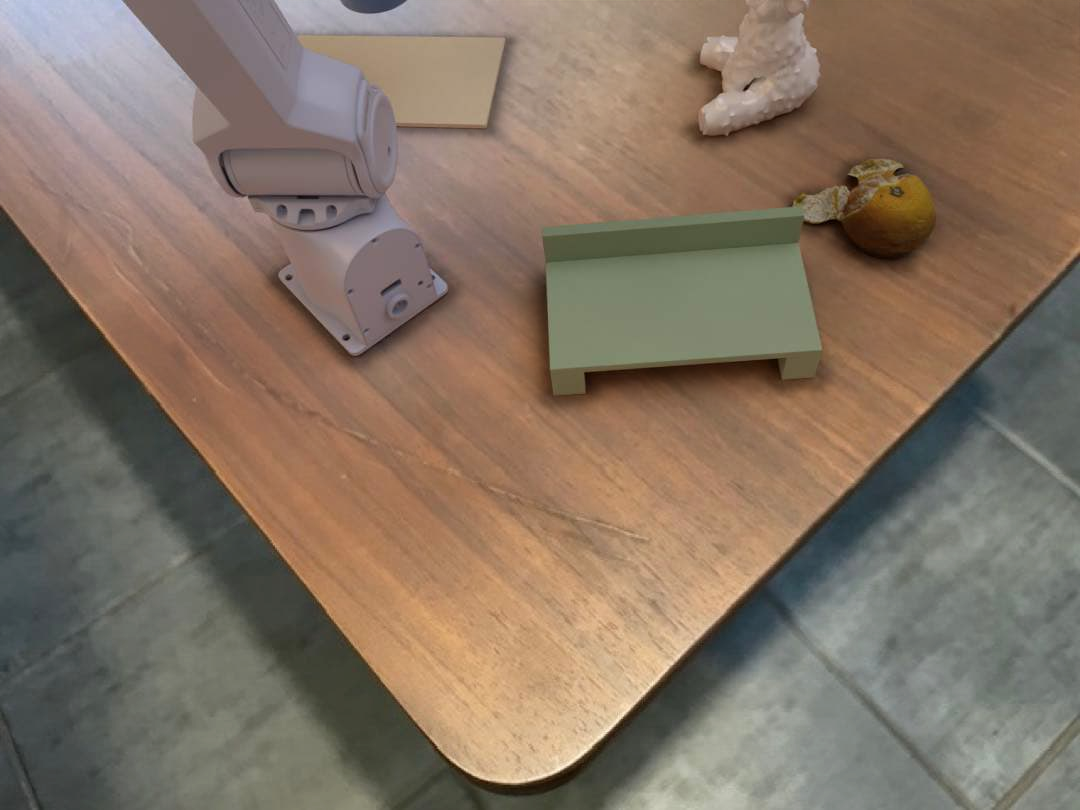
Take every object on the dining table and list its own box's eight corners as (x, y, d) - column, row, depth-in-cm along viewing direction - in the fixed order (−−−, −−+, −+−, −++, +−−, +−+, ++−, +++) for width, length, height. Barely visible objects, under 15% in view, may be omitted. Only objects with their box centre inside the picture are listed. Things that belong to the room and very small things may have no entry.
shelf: (814, 377, 59) (830, 324, 54) (553, 396, 60) (546, 345, 55) (790, 263, 63) (802, 205, 59) (548, 282, 64) (541, 226, 60)
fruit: (876, 155, 68) (887, 115, 65) (963, 227, 64) (979, 188, 61) (783, 208, 66) (790, 169, 63) (866, 285, 62) (878, 247, 59)
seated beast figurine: (698, 53, 75) (708, -95, 65) (812, 52, 74) (840, -99, 64) (697, 139, 70) (707, -6, 60) (819, 140, 69) (850, -8, 59)
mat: (505, 41, 78) (505, 37, 77) (486, 128, 73) (485, 124, 72) (293, 38, 80) (292, 34, 80) (260, 123, 75) (258, 119, 75)
